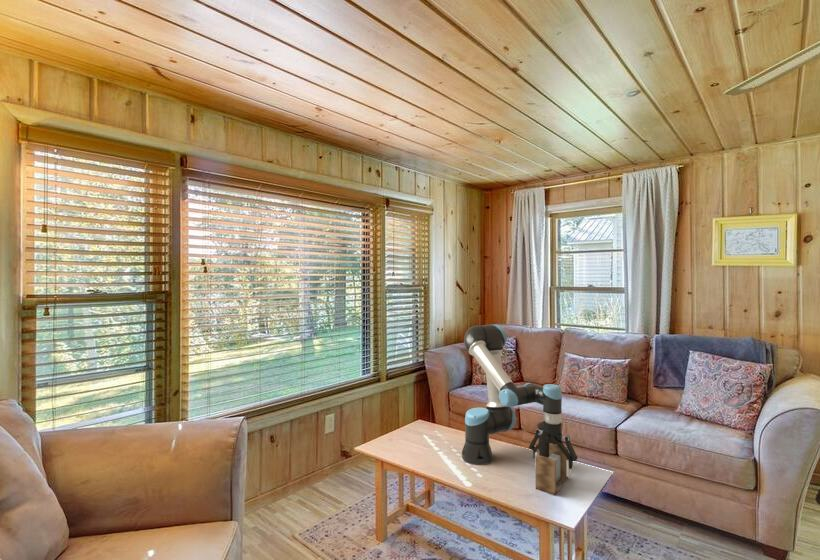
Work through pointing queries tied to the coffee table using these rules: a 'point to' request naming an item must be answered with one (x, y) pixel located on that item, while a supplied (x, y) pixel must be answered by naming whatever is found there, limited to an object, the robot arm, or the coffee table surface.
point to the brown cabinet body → (550, 471)
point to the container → (545, 447)
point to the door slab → (557, 458)
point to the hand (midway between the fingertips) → (552, 470)
